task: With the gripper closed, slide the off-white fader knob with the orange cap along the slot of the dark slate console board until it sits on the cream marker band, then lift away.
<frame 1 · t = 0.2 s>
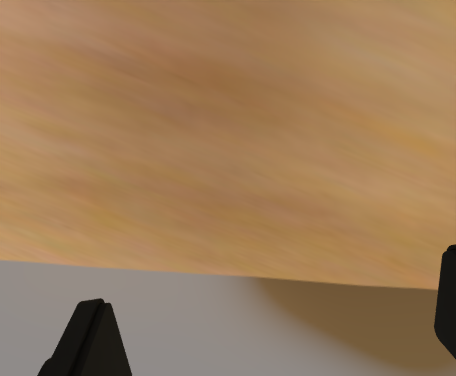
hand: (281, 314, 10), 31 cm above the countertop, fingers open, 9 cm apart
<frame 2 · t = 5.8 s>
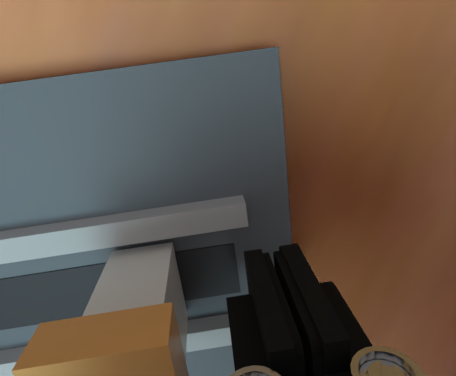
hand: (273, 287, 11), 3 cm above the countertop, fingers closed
fader knob: (139, 342, 9), point 4 cm above the countertop, slide at 0.0 cm, touching gripper
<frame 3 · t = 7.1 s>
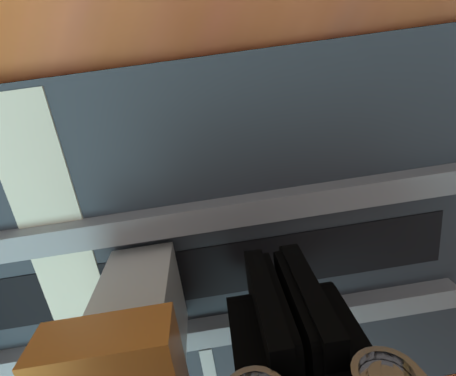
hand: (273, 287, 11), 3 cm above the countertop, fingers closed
console board: (191, 256, 13), on the countertop
fader knob: (139, 341, 9), point 4 cm above the countertop, slide at 7.4 cm, touching gripper
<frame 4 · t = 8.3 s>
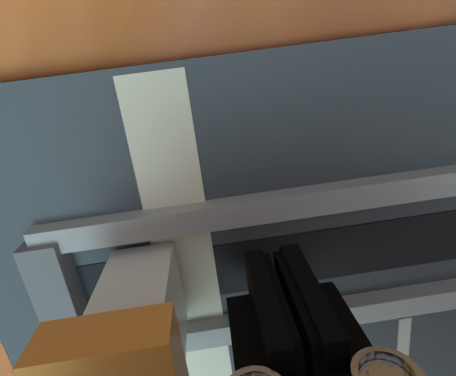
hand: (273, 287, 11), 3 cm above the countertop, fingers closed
console board: (291, 241, 13), on the countertop
fader knob: (139, 341, 9), point 4 cm above the countertop, slide at 11.3 cm, touching gripper
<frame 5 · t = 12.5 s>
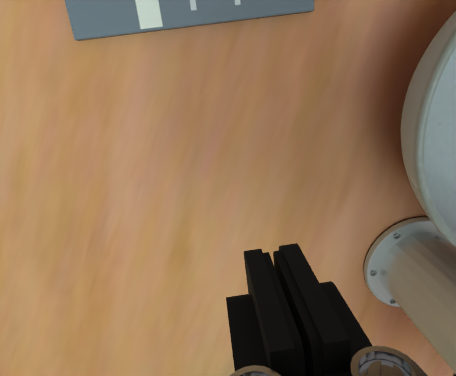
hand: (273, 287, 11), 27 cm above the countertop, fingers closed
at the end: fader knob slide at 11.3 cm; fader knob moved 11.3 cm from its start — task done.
